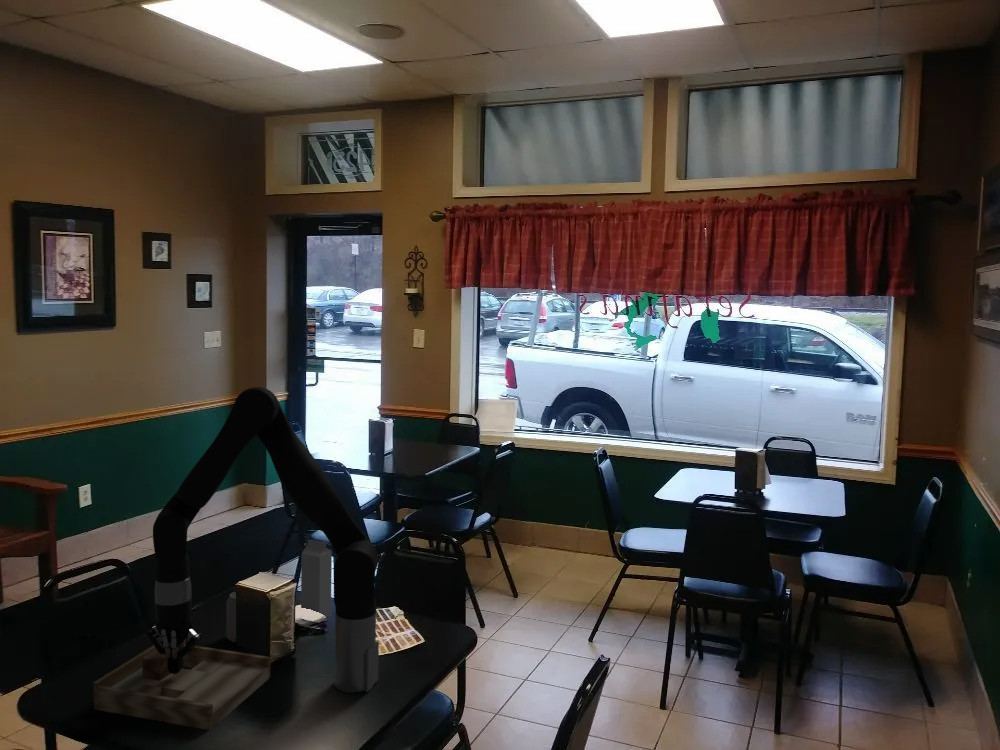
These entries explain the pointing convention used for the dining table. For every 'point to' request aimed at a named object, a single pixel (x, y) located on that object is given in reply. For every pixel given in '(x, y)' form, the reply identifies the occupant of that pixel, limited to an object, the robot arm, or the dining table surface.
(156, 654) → the block
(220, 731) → the dining table surface
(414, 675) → the dining table surface
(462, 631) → the dining table surface
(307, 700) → the dining table surface
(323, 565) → the milk
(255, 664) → the compartment tray
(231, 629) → the can
